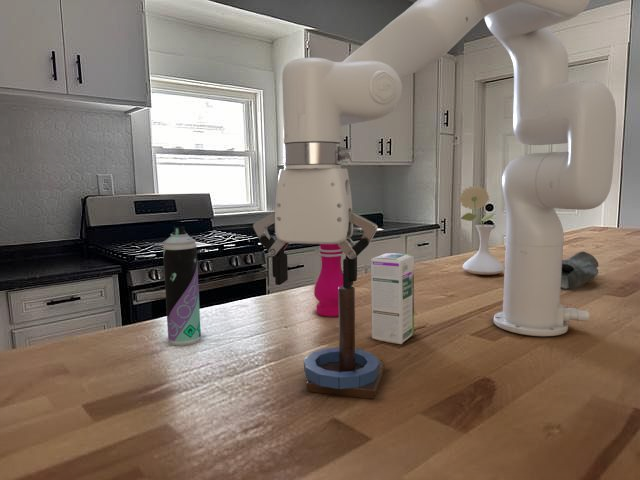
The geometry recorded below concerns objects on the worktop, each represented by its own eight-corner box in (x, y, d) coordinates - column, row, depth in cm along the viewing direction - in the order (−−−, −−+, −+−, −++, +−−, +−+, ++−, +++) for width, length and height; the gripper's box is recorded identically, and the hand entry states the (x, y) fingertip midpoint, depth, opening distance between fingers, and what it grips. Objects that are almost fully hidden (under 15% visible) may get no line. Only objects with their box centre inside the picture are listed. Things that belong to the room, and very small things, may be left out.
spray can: (171, 347, 77) (164, 229, 75) (166, 338, 82) (159, 226, 80) (204, 342, 80) (198, 226, 77) (197, 332, 85) (191, 224, 82)
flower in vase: (508, 271, 134) (511, 185, 131) (499, 279, 124) (503, 186, 121) (462, 267, 141) (464, 185, 138) (451, 274, 131) (453, 186, 128)
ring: (385, 362, 67) (385, 352, 67) (367, 393, 58) (367, 381, 57) (320, 354, 71) (320, 344, 71) (292, 381, 61) (292, 370, 61)
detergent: (586, 293, 109) (617, 274, 126) (585, 263, 108) (616, 248, 125) (529, 288, 118) (565, 271, 135) (528, 260, 118) (564, 247, 134)
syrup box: (402, 345, 77) (403, 259, 75) (370, 338, 80) (370, 256, 78) (414, 335, 82) (415, 254, 80) (383, 329, 85) (384, 251, 83)
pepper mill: (346, 318, 92) (345, 218, 90) (311, 316, 94) (309, 218, 91) (351, 308, 99) (350, 215, 97) (318, 306, 101) (316, 215, 98)
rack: (384, 370, 67) (384, 281, 66) (374, 399, 59) (374, 298, 57) (324, 364, 70) (323, 278, 68) (306, 391, 61) (304, 294, 59)
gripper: (381, 157, 63) (381, 281, 65) (263, 160, 67) (266, 276, 70) (372, 155, 56) (372, 295, 58) (240, 159, 60) (245, 287, 63)
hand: (314, 284), depth 64 cm, fingers open, 9 cm apart
